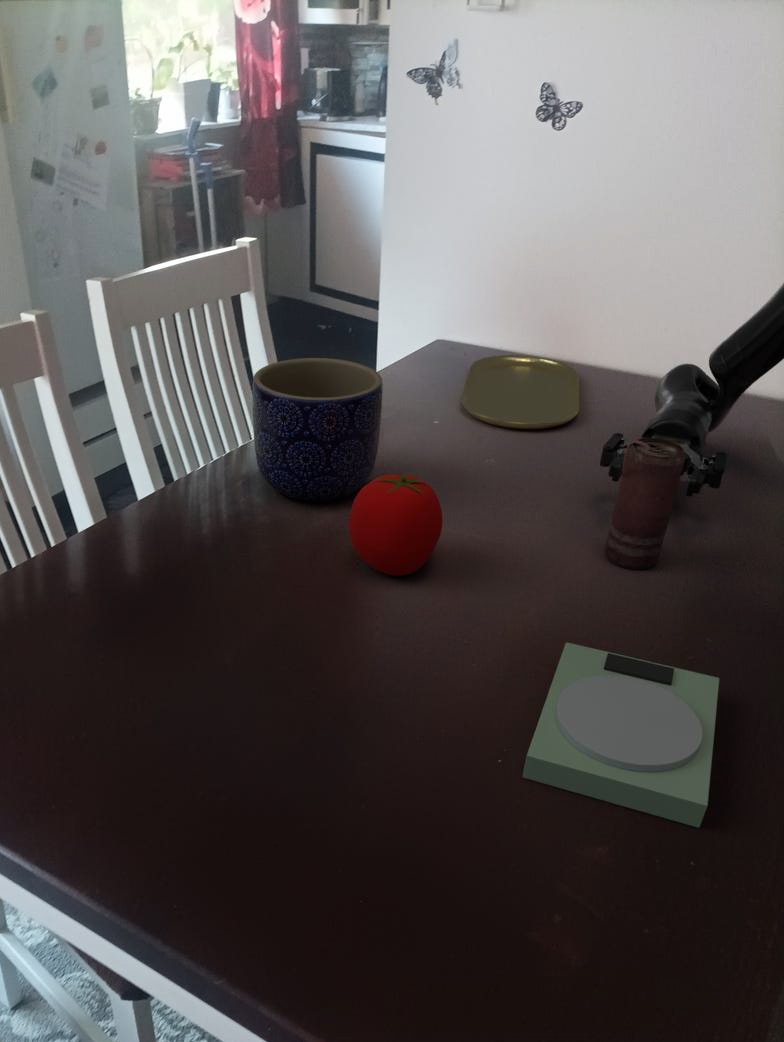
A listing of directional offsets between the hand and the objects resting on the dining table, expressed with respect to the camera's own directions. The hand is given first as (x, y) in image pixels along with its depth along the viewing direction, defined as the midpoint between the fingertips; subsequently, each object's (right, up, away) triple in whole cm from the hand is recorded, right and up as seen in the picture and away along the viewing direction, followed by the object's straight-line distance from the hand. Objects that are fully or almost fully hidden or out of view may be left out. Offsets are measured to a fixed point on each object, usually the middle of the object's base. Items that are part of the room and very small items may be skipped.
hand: (652, 481), depth 106 cm
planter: (-40, +2, +16) cm, 43 cm away
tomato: (-31, -10, -2) cm, 33 cm away
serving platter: (-4, +23, +47) cm, 52 cm away
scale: (-13, -27, -26) cm, 40 cm away
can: (-3, -9, 0) cm, 10 cm away
